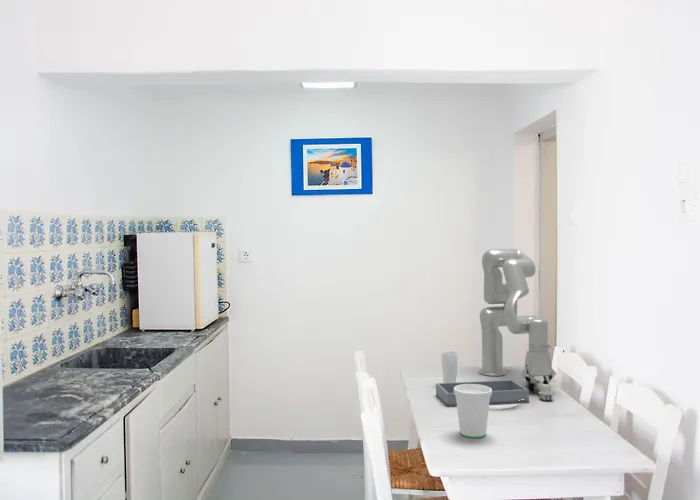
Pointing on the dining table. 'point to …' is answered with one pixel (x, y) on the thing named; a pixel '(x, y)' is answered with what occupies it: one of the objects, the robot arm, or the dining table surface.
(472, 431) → the cup
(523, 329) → the robot arm
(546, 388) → the white electric toothbrush
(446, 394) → the bin
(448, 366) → the drinking glass
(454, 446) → the dining table surface
